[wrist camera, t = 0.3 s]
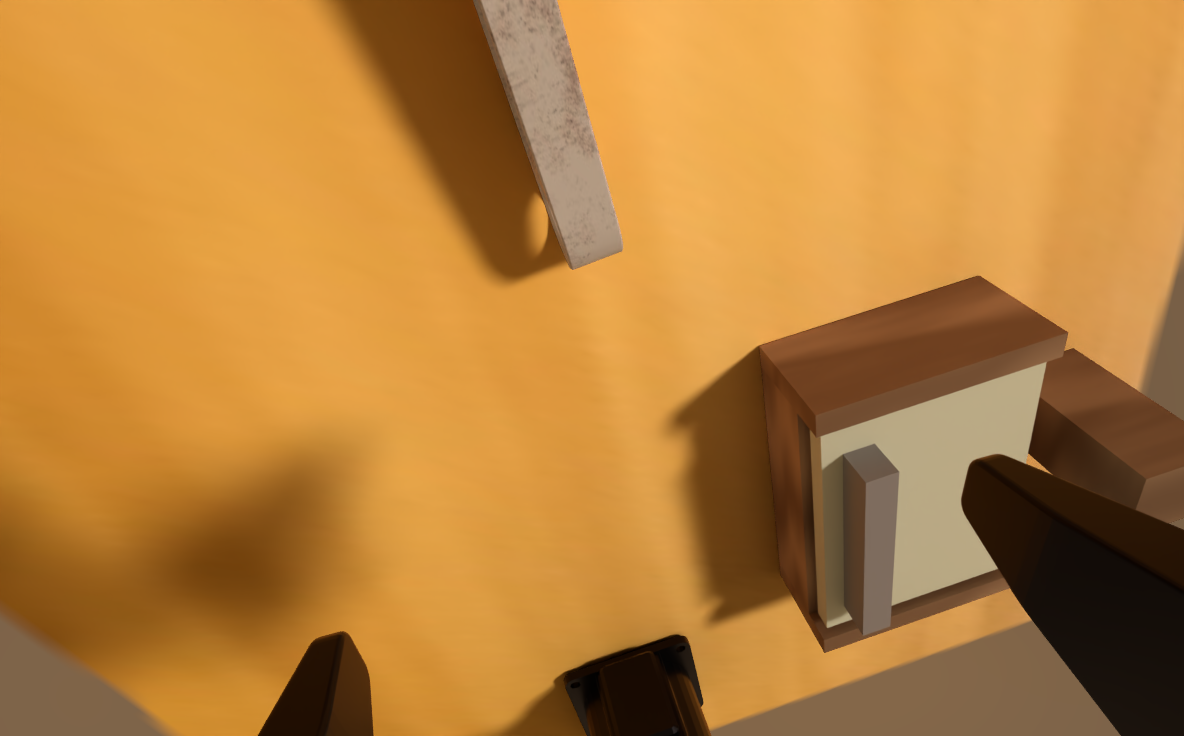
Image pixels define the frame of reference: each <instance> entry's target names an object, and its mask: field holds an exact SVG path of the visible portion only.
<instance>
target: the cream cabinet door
mask: <svg viewBox="0 0 1184 736" xmlns="http://www.w3.org/2000/svg"><path fill="white" fill-rule="evenodd" d="M1046 363H1047V362H1045V363H1042V364H1039V365H1036V366H1033V367H1030V368H1027V369H1024V370H1021V371H1018V372H1015V373H1012V374H1009V375H1006V376H1003V377H999V378H996V379H993V380H990V381H987V382H984V383H981V384H978V385H975V386H972V387H969V388H966V389H963V390H960V391H957V392H954V393H951V394H948V395H945V396H942V397H939V398H936V399H933V400H930V401H927V402H924V403H921V404H918V405H915V406H912V407H909V408H905V409H902V410H899V411H896V412H893V413H890V414H887V415H884V416H881V417H878V418H875V419H872V420H869V421H866V422H863V423H860V424H857V425H854V426H851V427H848V428H845V429H842V430H839V431H836V432H833V433H830V434H827V435H824V436H821V437H818V438H816V437H815V435H814V434H813V433H812V431H811V430H810V444H811V466H812V489H813V511H814V533H815V556H816V578H817V600H818V614H819V615H820V617H821V619H822V620H823V622H824V624H825V626H826V627H827V628H829V627H832V626H835V625H837V624H840V623H843V622H846V621H849V620H852V619H853V621H854V622H855V624H856V626H857V627H858V629H859V630H860V632H861V634H862V635H863V636H864V635H867V634H870V633H873V632H876V631H879V630H881V629H884V628H887V627H890V623H891V606H892V605H895V604H898V603H901V602H904V601H907V600H909V599H912V598H915V597H918V596H921V595H924V594H927V593H930V592H932V591H935V590H938V589H941V588H944V587H947V586H950V585H953V584H956V583H958V582H961V581H964V580H967V579H970V578H973V577H976V576H979V575H981V574H984V573H987V572H990V571H993V570H996V569H998V568H997V566H996V565H995V563H994V562H993V560H992V558H991V557H990V555H989V554H988V552H987V550H986V549H985V547H984V546H983V544H982V542H981V541H980V539H979V537H978V536H977V534H976V533H975V531H974V529H973V528H972V526H971V525H970V523H969V521H968V520H967V518H966V516H965V515H964V512H963V510H962V506H961V496H962V492H963V487H964V483H965V479H966V475H967V470H968V467H969V464H970V463H971V462H972V461H973V460H975V459H978V458H981V457H985V456H989V455H992V454H1003V455H1006V456H1009V457H1011V458H1013V459H1016V460H1018V461H1020V462H1023V463H1025V464H1026V460H1027V455H1028V450H1029V446H1030V441H1031V436H1032V431H1033V426H1034V421H1035V416H1036V412H1037V407H1038V402H1039V397H1040V392H1041V387H1042V383H1043V378H1044V373H1045V368H1046Z"/></svg>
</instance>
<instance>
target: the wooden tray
mask: <svg viewBox="0 0 1184 736" xmlns="http://www.w3.org/2000/svg"><path fill="white" fill-rule="evenodd" d="M1067 336H1068V332H1067V331H1065V330H1063V329H1062V328H1060V327H1059V326H1057V325H1056V324H1054V323H1052V322H1051V321H1049V320H1048V319H1046V318H1045V317H1043V316H1042V315H1040V314H1038V313H1037V312H1035V311H1034V310H1032V309H1031V308H1029V307H1028V306H1026V305H1024V304H1023V303H1021V302H1020V301H1018V300H1017V299H1015V298H1013V297H1012V296H1010V295H1009V294H1007V293H1006V292H1004V291H1003V290H1001V289H999V288H998V287H996V286H995V285H993V284H992V283H990V282H989V281H987V280H985V279H984V278H982V277H981V276H976V277H973V278H970V279H967V280H964V281H961V282H958V283H954V284H951V285H948V286H945V287H942V288H939V289H936V290H933V291H929V292H926V293H923V294H920V295H917V296H914V297H911V298H908V299H904V300H901V301H898V302H895V303H892V304H889V305H886V306H883V307H879V308H876V309H873V310H870V311H867V312H864V313H861V314H858V315H854V316H851V317H848V318H845V319H842V320H839V321H836V322H833V323H829V324H826V325H823V326H820V327H817V328H814V329H811V330H808V331H804V332H801V333H798V334H795V335H792V336H789V337H786V338H783V339H779V340H776V341H773V342H770V343H767V344H764V345H761V346H759V348H760V359H761V370H762V381H763V391H764V402H765V413H766V424H767V434H768V445H769V456H770V467H771V477H772V488H773V499H774V510H775V520H776V531H777V542H778V553H779V563H780V574H781V577H782V578H783V580H784V582H785V584H786V586H787V587H788V589H789V591H790V593H791V594H792V596H793V598H794V600H795V601H796V603H797V605H798V607H799V609H800V610H801V612H802V614H803V616H804V617H805V619H806V621H807V623H808V624H809V626H810V628H811V630H812V632H813V633H814V635H815V637H816V639H817V640H818V642H819V644H820V646H821V647H822V649H823V651H824V653H826V652H829V651H832V650H834V649H837V648H840V647H843V646H846V645H849V644H852V643H854V642H857V641H860V640H863V639H866V638H869V637H872V636H874V635H877V634H880V633H883V632H886V631H889V630H892V629H894V628H897V627H900V626H903V625H906V624H909V623H912V622H914V621H917V620H920V619H923V618H926V617H929V616H932V615H935V614H937V613H940V612H943V611H946V610H949V609H952V608H955V607H957V606H960V605H963V604H966V603H969V602H972V601H975V600H977V599H980V598H983V597H986V596H989V595H992V594H995V593H997V592H1000V591H1003V590H1006V589H1009V588H1010V587H1009V586H1008V584H1007V582H1006V581H1005V579H1004V578H1003V576H1002V574H1001V573H1000V571H999V570H998V569H996V570H993V571H990V572H987V573H984V574H981V575H979V576H976V577H973V578H970V579H967V580H964V581H961V582H958V583H956V584H953V585H950V586H947V587H944V588H941V589H938V590H935V591H932V592H930V593H927V594H924V595H921V596H918V597H915V598H912V599H909V600H907V601H904V602H901V603H898V604H895V605H892V606H891V623H890V627H887V628H884V629H881V630H879V631H876V632H873V633H870V634H867V635H864V636H863V635H862V634H861V632H860V630H859V629H858V627H857V626H856V624H855V622H854V621H853V619H852V620H849V621H846V622H843V623H840V624H837V625H835V626H832V627H829V628H827V627H826V626H825V624H824V622H823V620H822V619H821V617H820V615H819V614H818V600H817V578H816V556H815V533H814V511H813V489H812V466H811V444H810V430H811V431H812V433H813V434H814V435H815V437H816V438H818V437H821V436H824V435H827V434H830V433H833V432H836V431H839V430H842V429H845V428H848V427H851V426H854V425H857V424H860V423H863V422H866V421H869V420H872V419H875V418H878V417H881V416H884V415H887V414H890V413H893V412H896V411H899V410H902V409H905V408H909V407H912V406H915V405H918V404H921V403H924V402H927V401H930V400H933V399H936V398H939V397H942V396H945V395H948V394H951V393H954V392H957V391H960V390H963V389H966V388H969V387H972V386H975V385H978V384H981V383H984V382H987V381H990V380H993V379H996V378H999V377H1003V376H1006V375H1009V374H1012V373H1015V372H1018V371H1021V370H1024V369H1027V368H1030V367H1033V366H1036V365H1039V364H1042V363H1045V362H1048V361H1051V360H1054V359H1057V358H1060V357H1063V354H1064V349H1065V345H1066V340H1067Z"/></svg>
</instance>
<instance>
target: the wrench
mask: <svg viewBox="0 0 1184 736" xmlns="http://www.w3.org/2000/svg"><path fill="white" fill-rule="evenodd" d="M473 2H474V5H475V8H476V10H477V13H478V16H479V19H480V22H481V25H482V28H483V30H484V33H485V36H486V39H487V42H488V45H489V47H490V50H491V53H492V56H493V59H494V62H495V65H496V67H497V70H498V73H499V76H500V79H501V82H502V85H503V87H504V90H505V93H506V96H507V99H508V102H509V105H510V107H511V110H512V113H513V116H514V119H515V122H516V124H517V127H518V130H519V133H520V136H521V139H522V142H523V144H524V147H525V150H526V153H527V156H528V159H529V161H530V164H531V167H532V170H533V173H534V176H535V178H536V181H537V184H538V187H539V190H540V192H541V195H542V198H543V201H544V204H545V206H546V209H547V212H548V215H549V218H550V220H551V223H552V226H553V229H554V231H555V234H556V236H557V239H558V242H559V244H560V247H561V249H562V251H563V254H564V256H565V259H566V261H567V263H568V265H569V267H570V268H571V269H572V270H574V269H576V268H579V267H582V266H584V265H587V264H590V263H592V262H595V261H597V260H600V259H603V258H605V257H608V256H610V255H613V254H616V253H618V252H621V251H622V250H623V241H622V235H621V231H620V227H619V223H618V220H617V216H616V213H615V209H614V205H613V202H612V198H611V195H610V191H609V187H608V184H607V180H606V176H605V173H604V169H603V165H602V162H601V158H600V155H599V151H598V147H597V144H596V140H595V136H594V133H593V129H592V126H591V122H590V118H589V115H588V111H587V107H586V104H585V100H584V97H583V93H582V89H581V86H580V82H579V78H578V75H577V71H576V68H575V64H574V60H573V57H572V53H571V49H570V46H569V42H568V39H567V35H566V31H565V28H564V24H563V20H562V17H561V13H560V10H559V6H558V2H557V0H473Z"/></svg>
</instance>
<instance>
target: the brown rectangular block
mask: <svg viewBox="0 0 1184 736" xmlns="http://www.w3.org/2000/svg"><path fill="white" fill-rule="evenodd" d="M1028 453H1029V454H1030V455H1031V456H1032V457H1033V458H1034V459H1035V460H1037V461H1038V462H1039V463H1040V464H1041V465H1042V466H1043V467H1045V468H1046V469H1047V470H1048V471H1049V472H1050V473H1051V474H1053V475H1054V476H1056V477H1059V478H1061V479H1064V480H1066V481H1068V482H1071V483H1073V484H1076V485H1078V486H1080V487H1083V488H1085V489H1087V490H1090V491H1092V492H1095V493H1097V494H1099V495H1102V496H1104V497H1107V498H1109V499H1111V500H1114V501H1116V502H1119V503H1121V504H1123V505H1126V506H1128V507H1131V508H1133V509H1135V510H1138V511H1140V512H1143V513H1145V514H1147V515H1150V516H1152V517H1154V518H1157V519H1159V520H1162V521H1164V522H1166V523H1172V522H1174V521H1177V520H1180V519H1183V518H1184V421H1183V420H1181V419H1180V418H1178V417H1176V416H1175V415H1174V414H1172V413H1170V412H1169V411H1168V410H1166V409H1165V408H1163V407H1162V406H1160V405H1159V404H1157V403H1155V402H1154V401H1152V400H1151V399H1149V398H1148V397H1146V396H1145V395H1143V394H1142V393H1140V392H1139V391H1137V390H1136V389H1134V388H1133V387H1131V386H1130V385H1128V384H1127V383H1125V382H1124V381H1122V380H1121V379H1119V378H1118V377H1116V376H1115V375H1113V374H1112V373H1110V372H1109V371H1107V370H1106V369H1104V368H1103V367H1101V366H1100V365H1098V364H1097V363H1095V362H1094V361H1092V360H1090V359H1089V358H1087V357H1086V356H1084V355H1083V354H1081V353H1080V352H1078V351H1077V350H1075V349H1074V348H1073V349H1070V350H1067V351H1064V354H1063V357H1060V358H1057V359H1054V360H1051V361H1048V362H1047V363H1046V368H1045V373H1044V378H1043V383H1042V387H1041V392H1040V397H1039V402H1038V407H1037V412H1036V416H1035V421H1034V426H1033V431H1032V436H1031V441H1030V446H1029V450H1028Z"/></svg>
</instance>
